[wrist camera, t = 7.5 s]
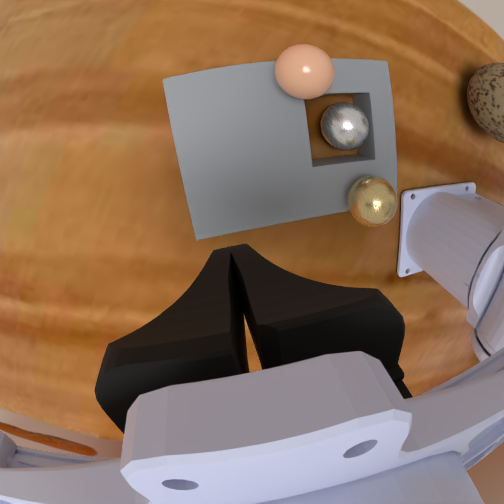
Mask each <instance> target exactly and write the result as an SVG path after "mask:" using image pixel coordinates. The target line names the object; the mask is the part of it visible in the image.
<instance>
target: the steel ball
mask: <svg viewBox="0 0 504 504" xmlns="http://www.w3.org/2000/svg"><path fill="white" fill-rule="evenodd" d="M321 131H322V134H323V136H324V138H325V139H326V141H327V142H328V143H329V144H331V145H332V146H333V147H335V148H338V149H341V150H351V149H355V148H357V147H359V146H360V145H362V144H363V143H364V141H365V140H366V138H367V136H368V133H369V123H368V119H367V117H366V115H365V114H364V112H363V111H362V110H361V109H360V108H358V107H357V106H355V105H353V104H350V103H345V102H341V103H336V104H334V105H332V106H330V107H329V108H327V110H326V111H325V112H324V113H323V115H322V118H321Z"/></svg>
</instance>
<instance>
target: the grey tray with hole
mask: <svg viewBox="0 0 504 504" xmlns="http://www.w3.org/2000/svg"><path fill="white" fill-rule="evenodd" d="M331 60H332V62H333V65H334V69H335V77H334V81H333V84H332V86H331V87H330V89H329V90H328V91H327V92H326V93H325V94H323V95H333V94H352V95H353V103H354V105H355V106H357V107H358V108H360V109H361V110H362V111H363V112H364V114H365V115H366V117H367V119H368V123H369V133H368V136H367V138H366V140H365V141H364V143H363V144H362V145H360V146H359V147H358V154H356V155H346V156H337V157H329V158H321V159H313V160H312V158H311V149H310V141H309V133H308V125H307V117H306V110H305V102H304V99H298V98H295V97H293V96H291V95H289V94H287V93H286V92H285V91H284V90H283V89H282V88H281V87H280V86H279V84H278V83H277V80H276V78H275V72H274V69H275V63H276V61H268V62H258V63H249V64H241V65H233V66H226V67H220V68H214V69H208V70H203V71H198V72H193V73H188V74H183V75H178V76H174V77H170V78H166V79H163V84H164V90H165V96H166V101H167V107H168V112H169V117H170V123H171V128H172V133H173V138H174V143H175V148H176V153H177V157H178V162H179V167H180V172H181V176H182V181H183V185H184V190H185V194H186V198H187V203H188V207H189V211H190V216H191V220H192V224H193V228H194V232H195V236H196V240H201V239H206V238H210V237H215V236H220V235H225V234H230V233H235V232H240V231H245V230H250V229H255V228H260V227H265V226H271V225H276V224H281V223H286V222H291V221H297V220H302V219H307V218H313V217H318V216H324V215H329V214H334V213H340V212H346V211H349V208H348V202H347V201H348V193H349V190H350V188H351V187H352V185H353V184H354V183H355V182H356V181H357V180H359V179H360V178H362V177H365V176H378V177H381V178H383V179H385V180H386V181H388V182H389V183H390V184H391V185H392V187H393V188H394V190H395V192H396V195H397V156H396V136H395V122H394V110H393V100H392V92H391V83H390V76H389V69H388V63H387V61H378V60H362V59H331Z"/></svg>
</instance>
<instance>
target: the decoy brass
mask: <svg viewBox="0 0 504 504" xmlns="http://www.w3.org/2000/svg"><path fill="white" fill-rule="evenodd" d="M347 202H348V208H349V211H350V213H351V215H352V216H353V218H354V219H355V220H356V221H357V222H359V223H360V224H362V225H364V226H367V227H379V226H382V225H384V224H386V223H388V222H389V221H390V220H391V219H392V218H393V216H394V214H395V212H396V209H397V195H396V192H395V190H394V188H393V187H392V185H391V184H390V183H389V182H388V181H386V180H385V179H383V178H381V177H378V176H365V177H362V178H360V179H359V180H357V181H356V182H355V183H354V184H353V185H352V187H351V188H350V190H349V193H348V201H347Z"/></svg>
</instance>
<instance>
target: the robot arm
mask: <svg viewBox="0 0 504 504" xmlns="http://www.w3.org/2000/svg"><path fill="white" fill-rule="evenodd" d="M465 188H466V189H465ZM475 192H476V185H475V183H473V182H465V183H457V184H449V185H442V186H434V187H427V188H420V189H413V190H406V191H404V192H403V193H402V196H401V225H400V243H399V256H398V267H397V274H398V275H399V276H400V277H404V276H407V275H410V274H414V273H417V272H420V271H425V272H426V273H428V274H429V275H430V276H431V277H432V278H433V279H434V280H436V281H437V282H438V283H439V284H440V285H441V286H442V287H443V288H445V289H446V290H447V291H448V292H449V293H450V294H451V295H452V296H453V297H455V298H456V299H457V300H458V301H459V302H460V303H461V304H462V305H463V306H464V307H465V308H466V309H467V310H468V314H467V316H466V319H465V320H466V321H467V322H468V323H469V324H470V325H471V326H472V327H473V328H474V329H473V330H472V333H471V343H472V346H473V349H474V352H475V354H476V356H477V358H478V359H479V361H480V363H479V364H477V365H475V366H474V367H472V368H470V369H468V370H467V371H465V372H463V373H461V374H460V375H458V376H456V377H454V378H452V379H451V380H449V381H447V382H445V383H443V384H441V385H439V386H437V387H435V388H433V389H431V390H429V391H427V392H425V393H423V394H421V395H419V396H416V397H412V395H411V393H410V392H409V390H408V389H407V387H406V386H405V384H404V382H403V381H402V379H403V378H404V372H403V371H402V369H401V368H400V366H399V365H398V360H399V356H400V352H401V348H402V344H403V340H404V334H405V324H404V320H403V317H402V315H401V314H400V313H399V312H398V311H397V309H396V308H395V307H394V306H393V304H392V303H391V302H390V301H389V300H388V299H387V298H386V297H385V296H384V295H383V294H382V293H381V292H380V291H379V290H378V289H373V288H352V287H343V286H336V285H330V284H325V283H321V282H317V281H313V280H310V279H306V278H303V277H300V276H298V275H295V274H293V273H290V272H288V271H286V270H284V269H282V268H280V267H278V266H276V265H275V264H273V263H271V262H270V261H268V260H267V259H265V258H264V257H262V256H261V255H260V254H259V253H257V252H256V251H255V250H254V249H252V248H251V247H250V246H249V245H247V244H241V245H236V246H231V247H226V248H221V249H216V250H214V251H213V252H212V253H211V255H210V257H209V259H208V261H207V262H206V264H205V266H204V267H203V269H202V271H201V272H200V274H199V275H198V277H197V278H196V279H195V281H194V282H193V283H192V285H191V286H190V287H189V288H188V290H187V291H186V292H185V293H184V294H183V295H182V296H181V297H180V298H179V299H178V300H177V301H176V302H175V303H174V304H172V305H171V306H170V307H169V308H168V309H166V310H165V311H164V312H163V313H161V314H160V315H159V316H158V317H156V318H155V319H153V320H152V321H150V322H149V323H147V324H146V325H144V326H142V327H141V328H139V329H137V330H136V331H134V332H132V333H130V334H128V335H126V336H124V337H122V338H120V339H118V340H116V341H114V342H112V343H109V344H108V347H107V349H106V352H105V355H104V357H103V361H102V364H101V368H100V371H99V375H98V378H97V382H96V386H95V395H96V399H97V401H98V403H99V404H100V406H101V408H102V409H103V410H104V411H105V413H106V414H107V415H108V416H109V417H110V419H111V420H112V421H113V422H114V423H115V424H116V426H117V427H118V428H119V429H120V430H121V431H122V432H123V433H124V440H123V448H122V456H121V457H120V458H104V457H90V456H78V455H70V454H61V453H54V452H48V451H42V450H36V449H30V448H26V447H21V446H17V445H16V444H15V442H14V441H13V440H12V439H10V438H9V437H8V436H7V435H6V434H4V433H3V432H1V431H0V504H484V503H483V501H482V499H481V497H480V495H479V493H478V491H477V489H476V487H475V486H474V484H473V482H472V480H471V479H470V476H469V475H468V473H467V471H466V470H468V469H469V468H471V467H472V466H473V465H475V464H476V463H477V462H479V461H480V460H481V459H483V458H484V457H485V456H486V455H488V454H489V453H490V452H491V451H493V450H494V449H495V448H496V447H497V446H499V445H500V444H501V443H502V442H503V441H504V206H502V205H500V204H498V203H496V202H493V201H491V200H489V199H487V198H485V197H483V196H481V195H478V194H476V193H475ZM412 194H413V197H412V198H411V195H412ZM406 270H407V271H406ZM244 316H245V319H246V322H247V325H248V328H249V330H250V333H251V336H252V339H253V342H254V345H255V348H256V351H257V354H258V356H259V360H260V363H261V367H262V370H259V371H255V372H249V366H248V359H247V348H246V336H245V323H244Z"/></svg>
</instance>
